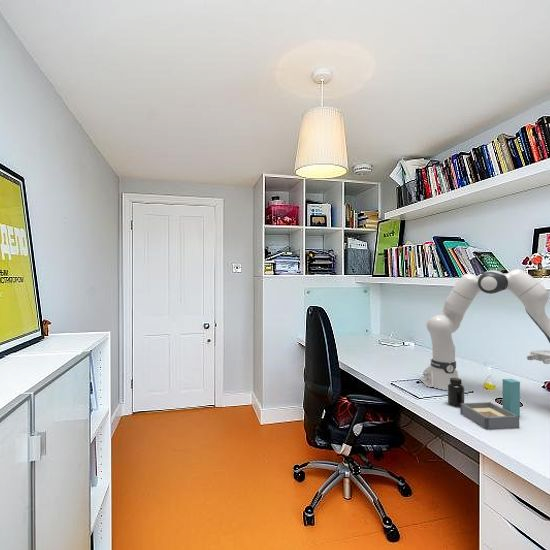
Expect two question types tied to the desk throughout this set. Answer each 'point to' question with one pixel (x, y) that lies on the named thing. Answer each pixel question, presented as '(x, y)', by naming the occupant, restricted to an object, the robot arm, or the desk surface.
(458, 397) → the supplement bottle
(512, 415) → the open box
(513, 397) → the peg
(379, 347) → the desk surface
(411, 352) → the desk surface
